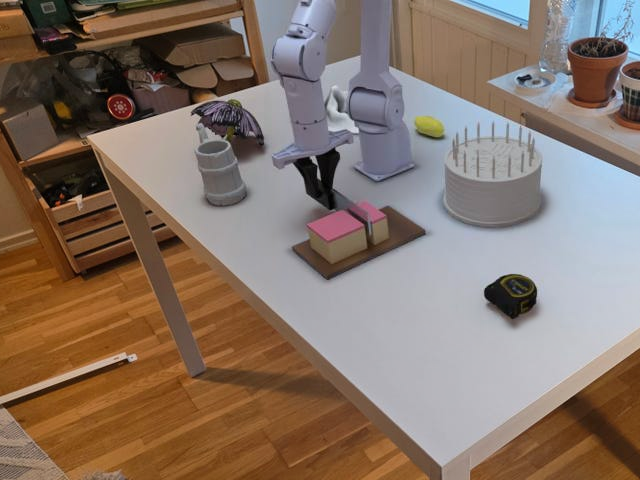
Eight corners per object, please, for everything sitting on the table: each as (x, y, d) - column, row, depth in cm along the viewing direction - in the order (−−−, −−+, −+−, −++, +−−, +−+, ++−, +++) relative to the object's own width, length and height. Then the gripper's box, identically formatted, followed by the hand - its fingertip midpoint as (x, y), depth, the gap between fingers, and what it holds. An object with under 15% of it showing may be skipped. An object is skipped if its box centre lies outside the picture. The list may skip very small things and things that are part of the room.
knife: (315, 189, 117) (312, 169, 115) (375, 232, 107) (373, 211, 104) (306, 193, 116) (302, 173, 114) (365, 237, 106) (362, 215, 103)
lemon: (435, 142, 137) (434, 125, 135) (409, 131, 142) (408, 114, 139) (449, 136, 140) (448, 118, 137) (423, 125, 144) (422, 108, 141)
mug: (213, 211, 119) (194, 149, 111) (194, 185, 127) (175, 125, 118) (253, 198, 122) (237, 137, 114) (232, 174, 130) (216, 115, 121)
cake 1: (346, 232, 112) (342, 209, 108) (367, 248, 108) (364, 224, 105) (311, 247, 108) (306, 224, 105) (331, 264, 105) (327, 240, 102)
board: (388, 209, 118) (388, 205, 118) (425, 233, 112) (425, 229, 112) (292, 250, 109) (291, 246, 109) (327, 279, 103) (326, 275, 103)
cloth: (278, 113, 150) (272, 87, 146) (341, 90, 160) (338, 64, 155) (337, 142, 139) (332, 114, 134) (401, 115, 148) (399, 88, 144)
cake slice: (367, 223, 114) (364, 200, 110) (389, 238, 110) (386, 215, 107) (353, 229, 112) (349, 206, 109) (374, 245, 108) (371, 221, 105)
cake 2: (553, 187, 122) (560, 119, 113) (520, 236, 111) (525, 163, 102) (467, 170, 128) (466, 103, 119) (426, 214, 117) (423, 144, 107)
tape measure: (481, 302, 98) (481, 282, 95) (516, 286, 101) (518, 266, 98) (509, 326, 94) (510, 306, 91) (545, 308, 97) (547, 288, 94)
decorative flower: (277, 101, 131) (202, 96, 122) (280, 161, 135) (207, 161, 126) (251, 100, 142) (180, 96, 133) (254, 156, 146) (185, 155, 137)
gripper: (333, 97, 110) (344, 171, 119) (256, 122, 103) (273, 198, 113) (356, 110, 106) (365, 185, 115) (277, 136, 99) (294, 214, 109)
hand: (321, 193), depth 114 cm, fingers closed on knife, 2 cm apart
